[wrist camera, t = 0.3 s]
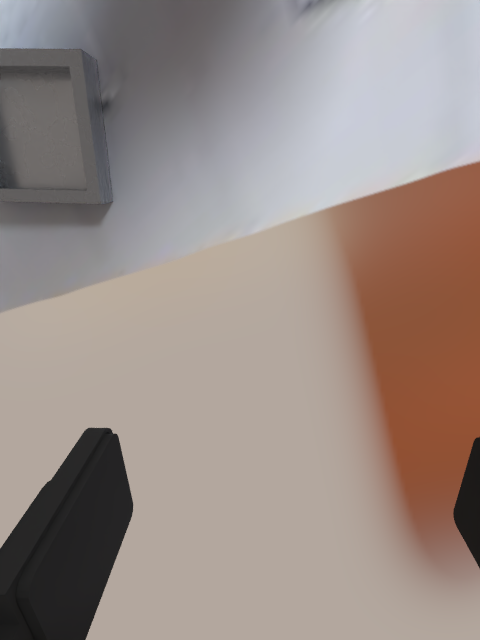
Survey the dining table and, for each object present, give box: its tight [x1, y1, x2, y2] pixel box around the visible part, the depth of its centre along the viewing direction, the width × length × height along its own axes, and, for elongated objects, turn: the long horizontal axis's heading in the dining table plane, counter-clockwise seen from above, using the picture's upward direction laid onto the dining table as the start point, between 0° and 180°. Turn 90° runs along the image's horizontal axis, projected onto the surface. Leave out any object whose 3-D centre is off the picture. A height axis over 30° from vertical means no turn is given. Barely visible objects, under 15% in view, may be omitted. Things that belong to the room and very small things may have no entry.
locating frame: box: [0, 49, 113, 204], centre depth 33 cm, size 12×12×3 cm
